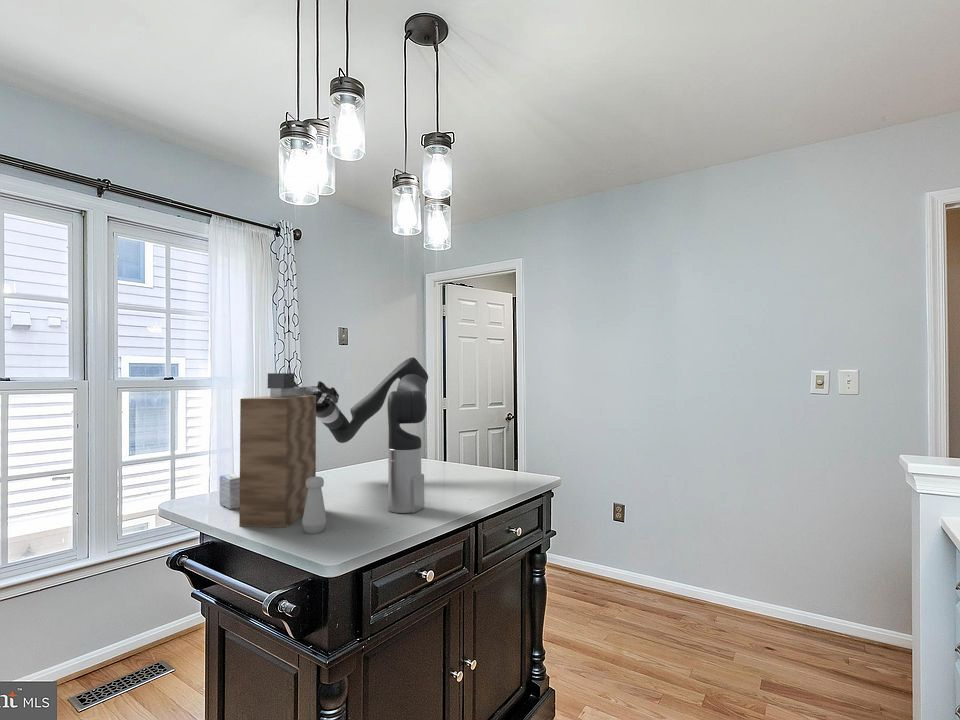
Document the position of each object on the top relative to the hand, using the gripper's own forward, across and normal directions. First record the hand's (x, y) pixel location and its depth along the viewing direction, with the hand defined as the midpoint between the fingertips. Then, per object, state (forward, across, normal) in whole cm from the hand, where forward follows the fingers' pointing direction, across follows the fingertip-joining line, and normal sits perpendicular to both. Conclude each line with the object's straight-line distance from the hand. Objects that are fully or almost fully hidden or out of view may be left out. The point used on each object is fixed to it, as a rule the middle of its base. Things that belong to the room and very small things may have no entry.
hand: (305, 383), depth 152 cm
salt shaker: (+5, +15, +44) cm, 47 cm away
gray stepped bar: (+3, 0, +6) cm, 7 cm away
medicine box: (-13, -19, +34) cm, 41 cm away
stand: (-4, 0, +38) cm, 38 cm away
